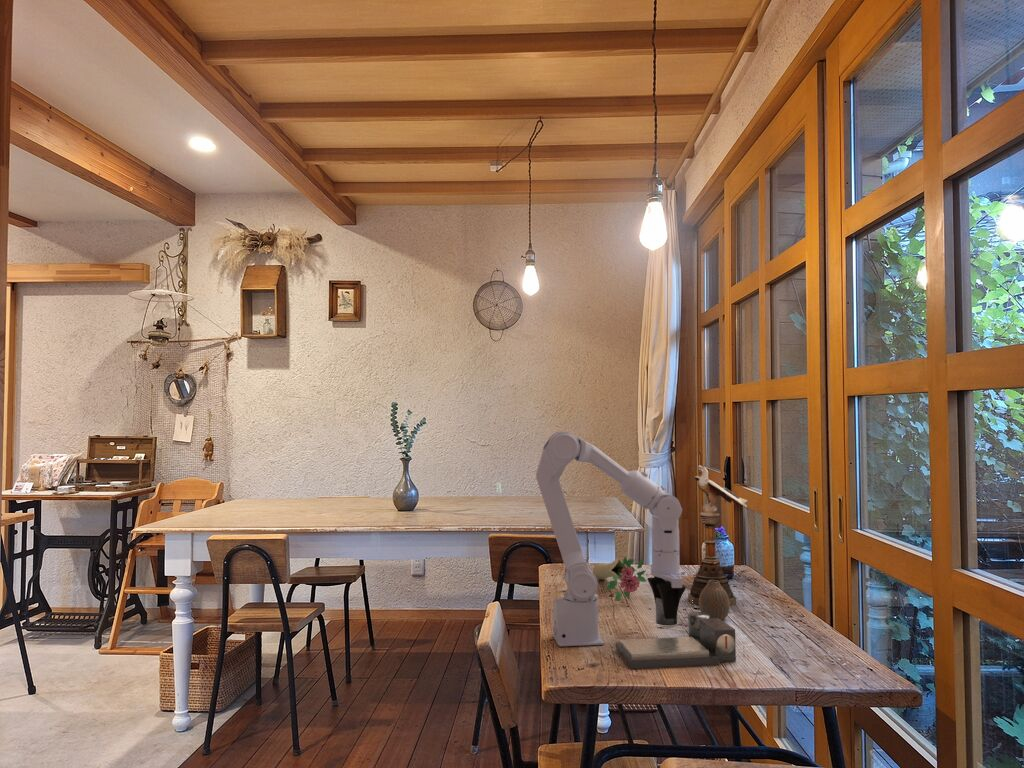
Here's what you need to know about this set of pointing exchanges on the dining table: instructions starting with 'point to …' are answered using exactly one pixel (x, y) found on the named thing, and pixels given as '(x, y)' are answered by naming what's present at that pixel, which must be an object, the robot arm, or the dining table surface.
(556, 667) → the dining table surface
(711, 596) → the brown egg-shaped piece
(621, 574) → the flower vase
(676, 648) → the scale
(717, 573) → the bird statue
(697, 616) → the ball
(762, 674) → the dining table surface
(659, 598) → the cylinder
